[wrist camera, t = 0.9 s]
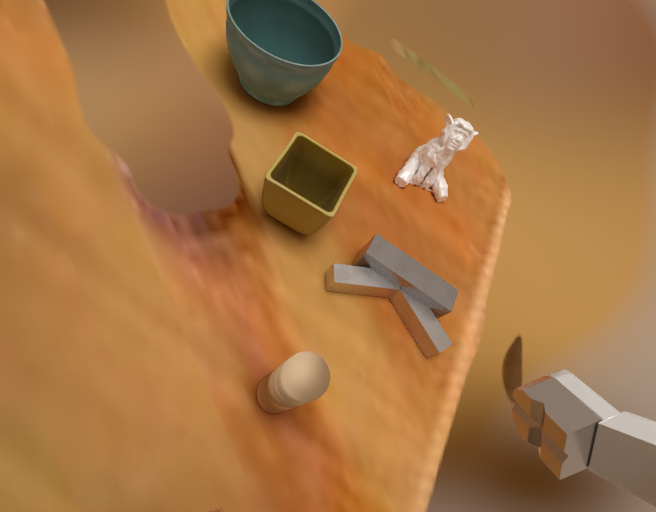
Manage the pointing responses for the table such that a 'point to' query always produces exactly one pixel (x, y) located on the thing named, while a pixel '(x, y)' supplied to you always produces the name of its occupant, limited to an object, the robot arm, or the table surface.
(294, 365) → the dowel
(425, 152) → the sitting furry creature
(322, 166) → the flower pot
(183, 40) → the table surface
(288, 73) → the flower pot
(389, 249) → the crossed grey wooden bars
